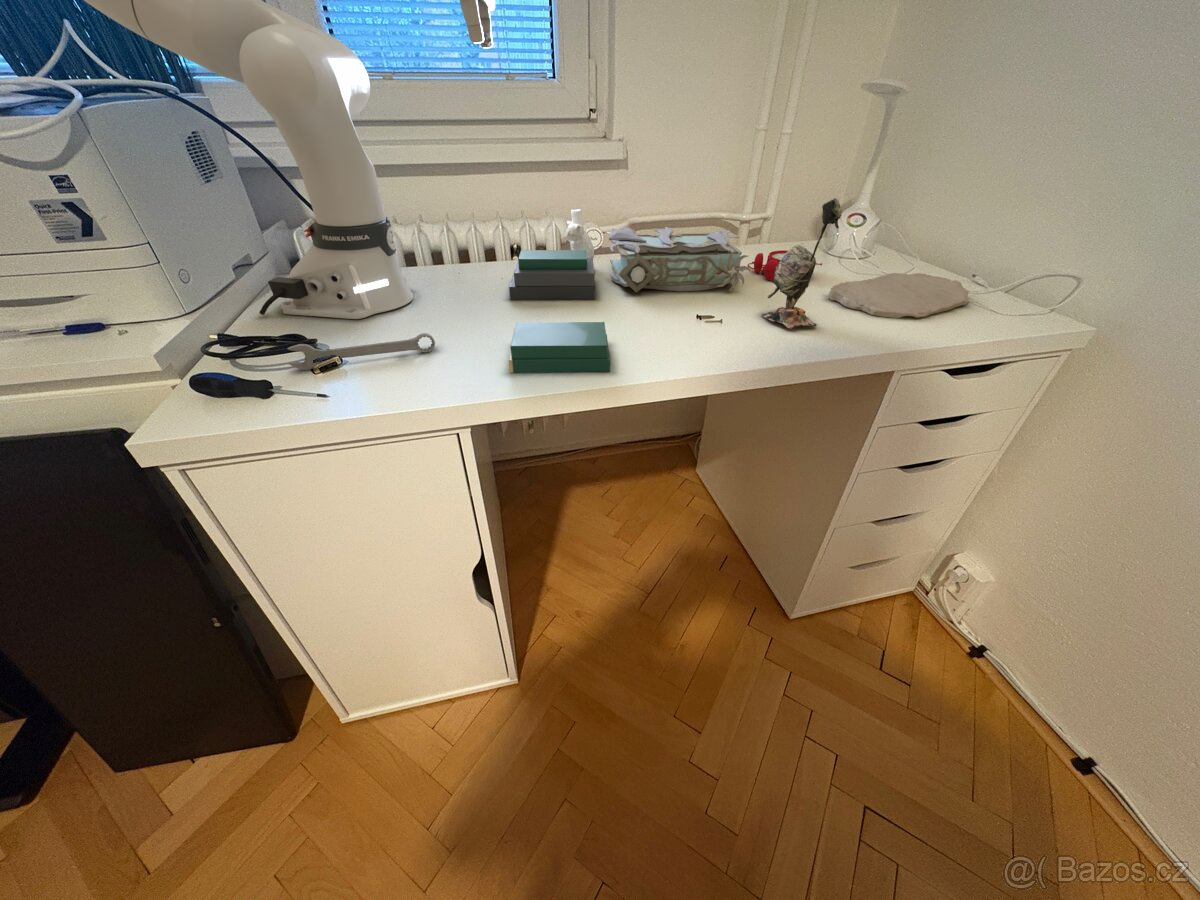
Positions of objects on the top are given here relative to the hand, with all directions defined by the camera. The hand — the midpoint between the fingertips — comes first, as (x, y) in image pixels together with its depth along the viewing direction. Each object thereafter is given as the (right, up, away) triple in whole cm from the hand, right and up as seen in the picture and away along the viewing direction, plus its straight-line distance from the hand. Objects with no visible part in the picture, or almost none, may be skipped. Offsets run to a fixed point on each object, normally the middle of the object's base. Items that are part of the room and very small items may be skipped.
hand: (483, 45), depth 70 cm
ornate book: (+34, -22, +35) cm, 53 cm away
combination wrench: (-18, -46, +1) cm, 49 cm away
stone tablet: (+78, -29, +26) cm, 87 cm away
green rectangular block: (+11, -45, +3) cm, 47 cm away
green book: (+8, -23, +24) cm, 34 cm away
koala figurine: (+12, -18, +40) cm, 45 cm away
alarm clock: (+57, -20, +38) cm, 72 cm away
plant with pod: (+51, -36, +17) cm, 64 cm away
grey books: (+8, -27, +27) cm, 39 cm away
